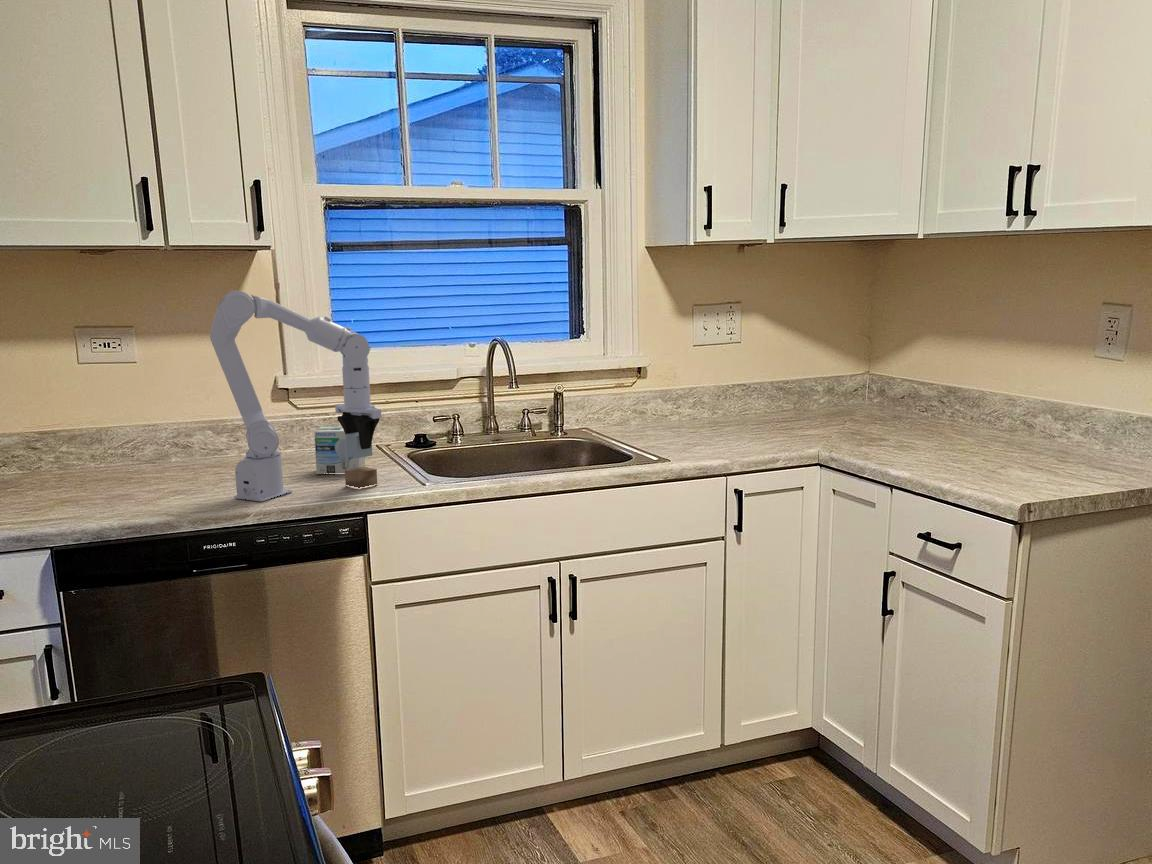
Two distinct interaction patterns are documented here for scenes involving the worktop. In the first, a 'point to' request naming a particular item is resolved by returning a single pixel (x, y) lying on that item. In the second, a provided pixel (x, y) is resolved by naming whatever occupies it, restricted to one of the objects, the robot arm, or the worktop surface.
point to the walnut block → (361, 477)
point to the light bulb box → (333, 451)
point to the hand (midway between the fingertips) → (359, 447)
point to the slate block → (356, 446)
